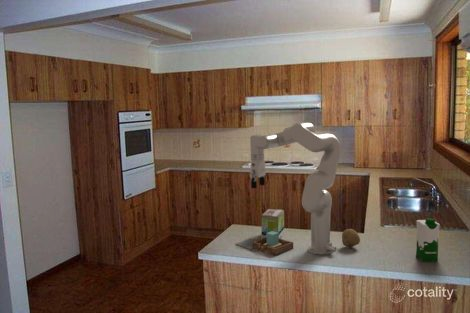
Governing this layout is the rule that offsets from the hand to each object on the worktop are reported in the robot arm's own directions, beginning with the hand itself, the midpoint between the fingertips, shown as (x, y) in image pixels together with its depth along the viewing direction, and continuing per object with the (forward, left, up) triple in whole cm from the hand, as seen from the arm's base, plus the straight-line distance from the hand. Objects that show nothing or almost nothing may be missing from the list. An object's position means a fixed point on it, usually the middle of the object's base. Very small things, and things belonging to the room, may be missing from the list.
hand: (258, 186), depth 232 cm
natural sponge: (-49, -17, -29) cm, 60 cm away
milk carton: (-83, -28, -29) cm, 93 cm away
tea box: (-8, -3, -29) cm, 30 cm away
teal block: (-20, +11, -26) cm, 35 cm away
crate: (-20, +11, -29) cm, 37 cm away
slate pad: (-7, +14, -29) cm, 33 cm away
